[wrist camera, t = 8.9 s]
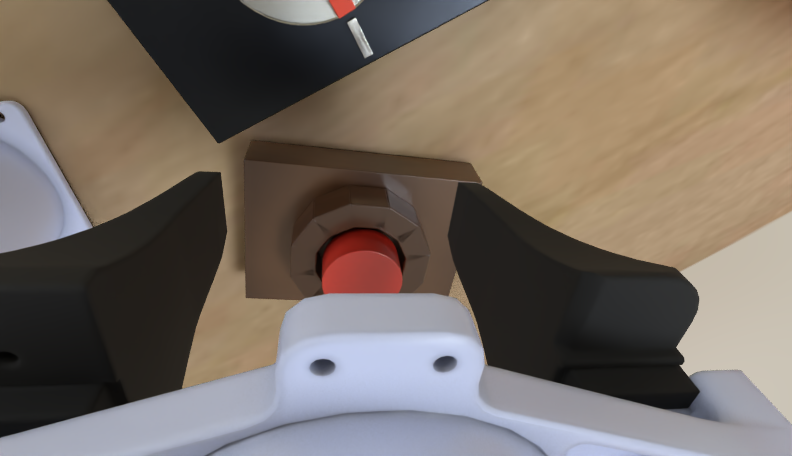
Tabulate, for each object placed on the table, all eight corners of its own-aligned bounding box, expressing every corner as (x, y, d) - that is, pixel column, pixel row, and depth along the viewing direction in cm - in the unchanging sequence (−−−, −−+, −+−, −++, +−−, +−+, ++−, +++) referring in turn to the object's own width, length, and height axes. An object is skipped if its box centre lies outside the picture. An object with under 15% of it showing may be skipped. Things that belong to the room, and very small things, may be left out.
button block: (251, 272, 26) (239, 323, 22) (250, 139, 21) (236, 178, 18) (438, 281, 28) (452, 329, 24) (470, 162, 24) (494, 201, 20)
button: (319, 286, 22) (318, 311, 21) (325, 225, 20) (325, 248, 19) (391, 290, 23) (395, 314, 21) (403, 231, 21) (409, 253, 20)
